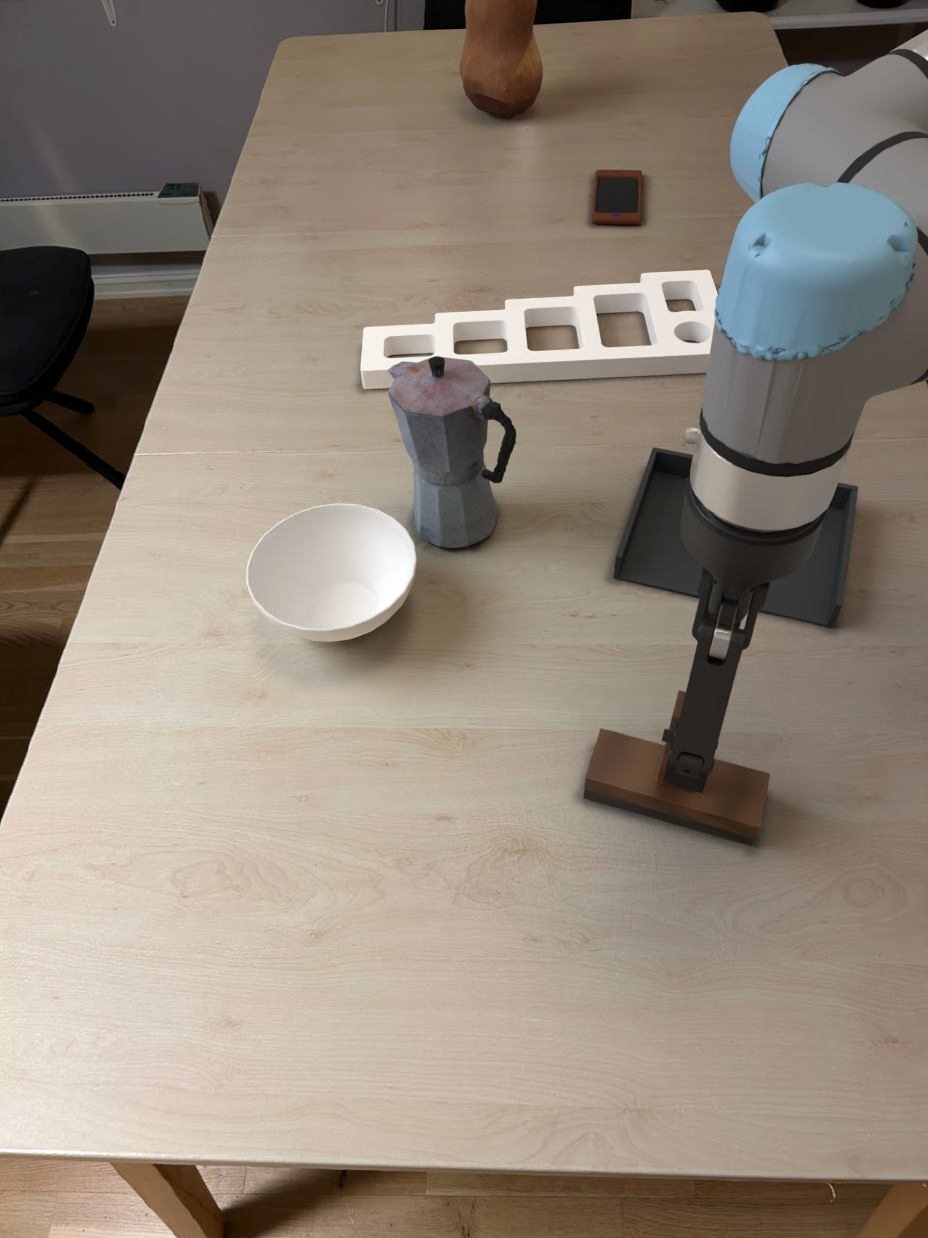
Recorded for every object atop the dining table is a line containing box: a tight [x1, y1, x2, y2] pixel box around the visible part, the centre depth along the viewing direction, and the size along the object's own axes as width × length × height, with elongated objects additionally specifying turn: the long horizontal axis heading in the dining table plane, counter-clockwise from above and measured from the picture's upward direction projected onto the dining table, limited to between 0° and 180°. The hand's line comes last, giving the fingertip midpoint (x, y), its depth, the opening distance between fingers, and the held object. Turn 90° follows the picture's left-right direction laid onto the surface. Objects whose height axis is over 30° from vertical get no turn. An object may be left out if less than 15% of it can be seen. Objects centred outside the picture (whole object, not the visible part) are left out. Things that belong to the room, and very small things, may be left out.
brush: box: [582, 690, 771, 847], centre depth 73 cm, size 14×5×14 cm, turn 70°
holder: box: [359, 269, 718, 390], centre depth 118 cm, size 45×18×3 cm, turn 91°
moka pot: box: [387, 356, 517, 549], centre depth 91 cm, size 10×15×20 cm, turn 55°
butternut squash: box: [459, 0, 544, 120], centre depth 150 cm, size 14×13×25 cm
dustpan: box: [613, 446, 859, 629], centre depth 97 cm, size 27×21×3 cm
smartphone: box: [591, 169, 643, 226], centre depth 139 cm, size 7×1×15 cm
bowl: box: [245, 502, 418, 643], centre depth 90 cm, size 16×16×7 cm
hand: (702, 703), depth 67 cm, fingers open, 13 cm apart
